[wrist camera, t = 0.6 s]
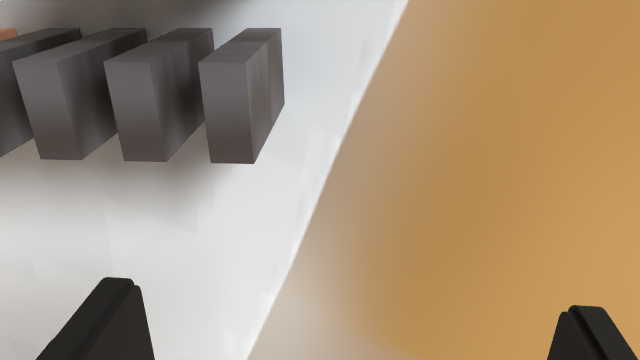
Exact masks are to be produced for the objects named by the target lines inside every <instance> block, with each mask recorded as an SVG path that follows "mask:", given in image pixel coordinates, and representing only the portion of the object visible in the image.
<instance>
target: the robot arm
mask: <svg viewBox="0 0 640 360" xmlns="http://www.w3.org/2000/svg"><path fill="white" fill-rule="evenodd" d="M36 360H155V358H154V353H153V348H152V343H151V338H150V333H149V328H148V323H147V318H146V313H145V308H144V303H143V298H142V293H141V289H140V287H139V286H137V285H134V282H133V281H132V280H131V279H128V278H112V277H106V278H103V279H102V280H101V281H100V282H99V284H98V285H97V286H96V287H95V289H94V290H93V291H92V292H91V294H90V295H89V296H88V297H87V298H86V300H85V301H84V302H83V303H82V305H81V306H80V307H79V308H78V310H77V311H76V312H75V313H74V315H73V316H72V317H71V318H70V320H69V321H68V322H67V323H66V325H65V326H64V327H63V328H62V329H61V331H60V332H59V333H58V334H57V336H56V337H55V338H54V339H53V340H52V341H51V342H50V343H49V344H48V345H47V346H46V348H45V349H44V350H43V351H42V353H41V354H40V355H39V356H38V358H37V359H36ZM547 360H638V359H637V357H636V356H635V354H634V353H633V351H632V350H631V348H630V347H629V345H628V344H627V342H626V341H625V339H624V338H623V336H622V335H621V333H620V332H619V330H618V329H617V327H616V326H615V324H614V323H613V321H612V320H611V318H610V317H609V315H608V314H607V312H606V311H605V310H604V309H603V308H601V307H593V306H578V305H573V306H571V307H570V308H569V310H568V312H562V313H561V314H560V316H559V320H558V323H557V327H556V330H555V334H554V337H553V341H552V344H551V348H550V351H549V355H548V358H547Z"/></svg>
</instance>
